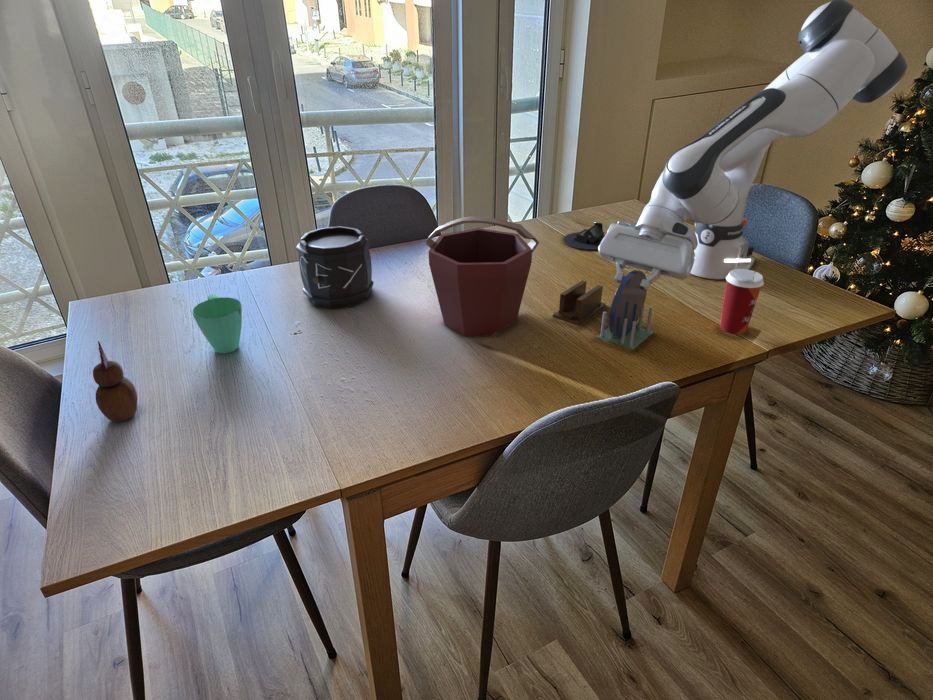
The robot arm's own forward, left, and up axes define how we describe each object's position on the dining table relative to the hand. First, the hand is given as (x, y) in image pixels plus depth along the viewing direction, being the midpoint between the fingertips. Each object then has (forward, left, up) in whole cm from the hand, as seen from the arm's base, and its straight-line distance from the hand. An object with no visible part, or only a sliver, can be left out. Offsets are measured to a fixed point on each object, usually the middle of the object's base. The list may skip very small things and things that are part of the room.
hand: (630, 285), depth 130 cm
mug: (+63, -63, -13) cm, 90 cm away
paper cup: (-20, +16, -13) cm, 29 cm away
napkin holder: (-3, -14, -13) cm, 20 cm away
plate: (-1, 0, -12) cm, 12 cm away
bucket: (+16, -29, -13) cm, 36 cm away
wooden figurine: (+89, -51, -13) cm, 103 cm away
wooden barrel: (+31, -65, -13) cm, 73 cm away
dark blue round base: (-45, -41, -13) cm, 62 cm away
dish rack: (-1, 0, -13) cm, 13 cm away
